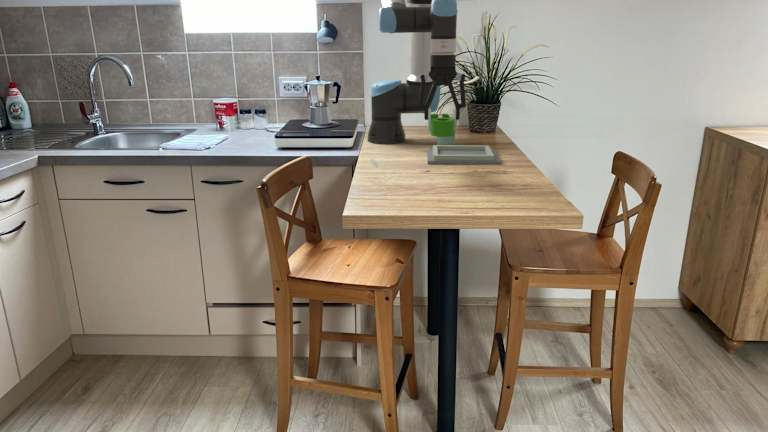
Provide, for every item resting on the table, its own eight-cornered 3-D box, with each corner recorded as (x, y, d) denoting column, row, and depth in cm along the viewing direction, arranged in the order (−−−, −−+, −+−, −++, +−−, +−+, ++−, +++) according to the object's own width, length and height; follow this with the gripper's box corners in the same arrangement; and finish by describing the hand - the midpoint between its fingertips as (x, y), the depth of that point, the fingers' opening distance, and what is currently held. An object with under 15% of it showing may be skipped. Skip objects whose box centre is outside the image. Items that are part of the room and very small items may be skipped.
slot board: (427, 163, 194) (427, 156, 193) (427, 151, 213) (427, 144, 212) (500, 164, 193) (500, 156, 192) (493, 151, 211) (493, 144, 211)
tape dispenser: (455, 136, 175) (456, 121, 173) (432, 137, 175) (432, 121, 173) (449, 127, 189) (449, 113, 187) (427, 128, 189) (427, 113, 187)
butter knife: (377, 158, 201) (369, 158, 201) (390, 179, 176) (380, 179, 176) (377, 160, 201) (368, 160, 201) (390, 181, 176) (380, 181, 176)
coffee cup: (456, 145, 223) (457, 113, 219) (457, 149, 215) (458, 117, 211) (434, 144, 224) (434, 113, 220) (434, 149, 216) (434, 117, 212)
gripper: (409, 54, 171) (409, 132, 178) (478, 54, 170) (475, 132, 178) (409, 53, 178) (409, 128, 185) (475, 52, 177) (472, 127, 185)
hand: (441, 130), depth 181 cm, fingers closed on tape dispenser, 7 cm apart
